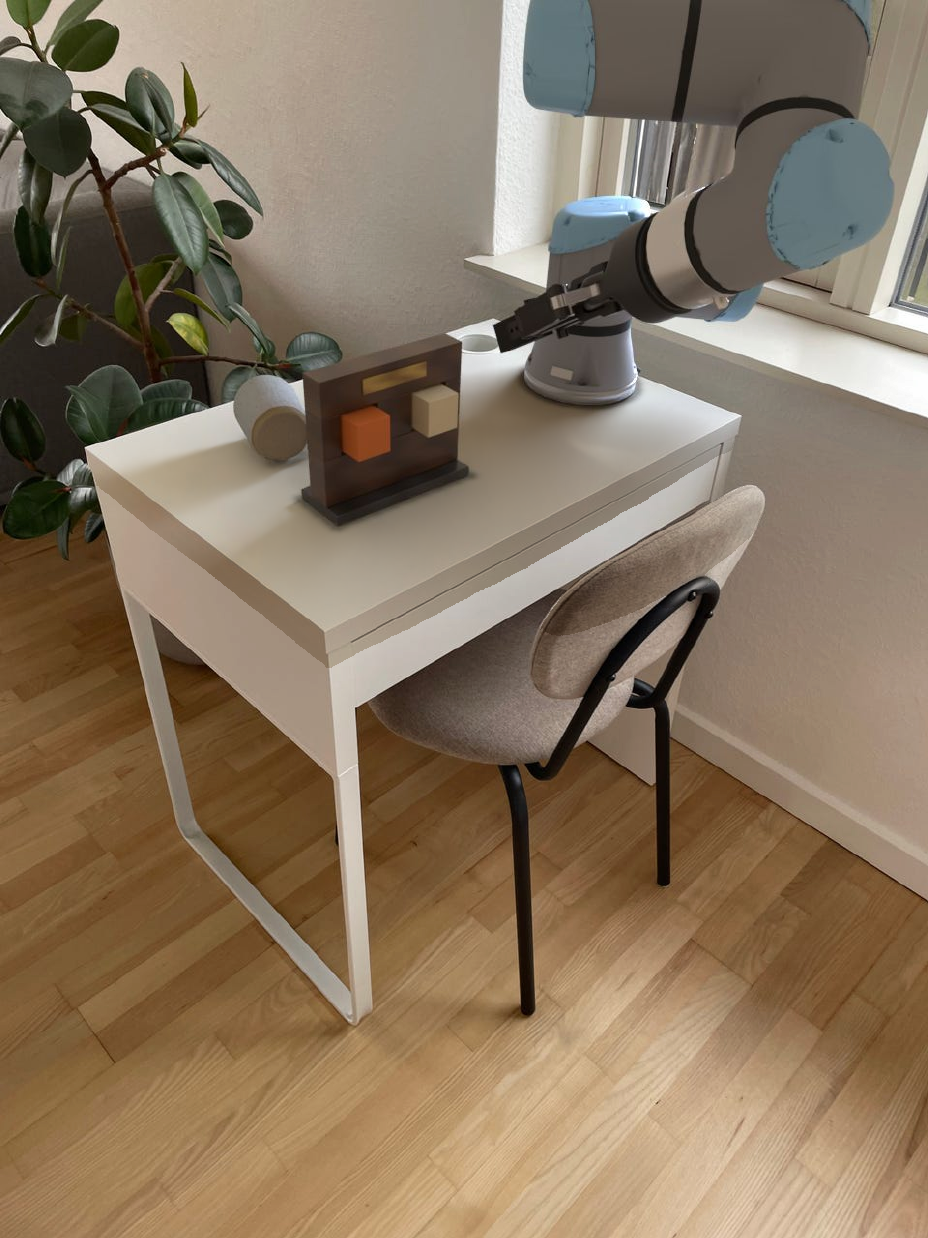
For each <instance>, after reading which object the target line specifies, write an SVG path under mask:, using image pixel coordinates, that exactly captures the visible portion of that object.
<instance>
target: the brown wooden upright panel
mask: <svg viewBox="0 0 928 1238" xmlns="http://www.w3.org/2000/svg"><path fill="white" fill-rule="evenodd" d="M462 359H463V341H462V340H459V339H458V338H456V337H454V336H452V335H450V334H448V333H445V332H442V333H440V334H435V335H433V336H430V337H429V336H428V337H425V338H422V339H418V340H414V341H411V342H407V343H403V344H400V345H396V346H393V347H390V348H386V349H382V350H379V351H375V352H371V353H368V354H364V355H360V356H358V357H353V358H350V359H346V360H343V361H339V362H336V363H331V364H329V365H325V366H322V367H318V368H314V369H311V370H307V371H303V372H302V387H303V388H302V389H303V401H304V410H305V417H306V431H307V445H306V446H307V457H308V471H309V484H310V485H309V486H305V487H303V488H301V489H300V494H301V499H302V500H303V501H305V502H306V503H307V504H308V505H309V506H311V507H312V508H314V509H315V510H316V511H317V512H319V513H320V514H321V515H323V516H324V517H326V519H327V520H330V522H332V523H333V524H335V526H337V527H340V526H342V525H345V524H347V523H350V522H352V521H355V520H358V519H360V518H363V517H365V516H368V515H370V514H374V513H375V512H378V511H380V510H383V509H387V508H388V507H391V506H394V505H395V504H399V503H402V502H403V501H406V500H409V499H412V498H414V497H417V496H420V495H421V494H424V493H427V492H430V491H432V490H434V489H437V488H439V487H442V486H445V485H447V484H450V483H452V482H455V481H457V480H460V479H463V478H465V477H467V476H469V472H470V466H469V465H468V464H466V463H464V462H463V461H461V460H459V459H458V458H459V457H458V456H459V433H460V412H461V411H460V410H461V409H460V408H461V386H462V385H461V384H462ZM438 383H441V384H443V385H444V386H446V387H448V388H450V389H452V390H453V391H455V392H457V393H459V395H458V421H457V428H454V429H452V430H449V431H446V432H443V433H440V434H437V435H435V436H432V437H429V438H428V437H427V436H425V435H423V434H422V433H420V432H419V431H417V430H415V429H414V428H412V427H411V392H413V391H416V390H419V389H422V388H425V387H428V386H432V385H435V384H438ZM371 404H372V405H373V406H375V407H377V408H378V409H380V410H381V411H383V412H385V413H386V414H388V415H390V451H389V452H386V453H383V454H380V455H378V456H375V457H372V458H369V459H366V460H363V461H360V462H358V461H356V460H355V459H353V458H352V457H351V456H349V455H348V454H346V453H345V452H343V451H342V450H341V434H340V415H339V414H343V413H346V412H349V411H352V410H355V409H358V408H362V407H365V406H368V405H371Z"/></svg>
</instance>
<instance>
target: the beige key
mask: <svg viewBox="0 0 928 1238" xmlns="http://www.w3.org/2000/svg"><path fill="white" fill-rule="evenodd" d="M458 395H459V393H457V392H455V391H453V390H452V389H450V388H448V387H446V386H444V385H443V384H441V383H438V384H435V385H432V386H428V387H425V388H422V389H419V390H416V391H413V392H411V427H412V428H414V429H415V430H417V431H419V432H420V433H422V434H423V435H425V436H427V437H428V438H429V437H432V436H435V435H437V434H440V433H443V432H446V431H449V430H452V429H454V428H457V421H458Z"/></svg>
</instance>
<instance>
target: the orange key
mask: <svg viewBox="0 0 928 1238" xmlns="http://www.w3.org/2000/svg"><path fill="white" fill-rule="evenodd" d="M339 415H340V434H341V450H342V451H343V452H345V453H346V454H348V455H349V456H351V457H352V458H353V459H355V460H356V461H358V462H360V461H363V460H366V459H369V458H372V457H375V456H378V455H380V454H383V453H386V452H389V451H390V415H388V414H386V413H385V412H383V411H381V410H380V409H378V408H377V407H375V406H373V405H372V404H371V405H368V406H365V407H362V408H358V409H355V410H352V411H349V412H346V413H343V414H339Z"/></svg>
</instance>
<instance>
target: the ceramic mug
mask: <svg viewBox="0 0 928 1238" xmlns="http://www.w3.org/2000/svg"><path fill="white" fill-rule="evenodd" d="M232 408H233V415H234V418H235V420H236V422H237V423H238V425H239V427H240V429H241V431H242V432H243V434H244V435H245V437H246V439H247V441H248V443H249V445H250V446H251V447H252V449H253V450H254V451H255V452H256V453H257V454H258V455H260V456H261V457H263V458H265V459H267V460H270V461H275V462H276V461H277V462H279V461H286V460H289V459H292V458H295V457H297V456H298V455H299V454H301V452H303V450H304V449H305V448H306V446H308V445H307V431H306V417H305V408H304V407H303V406H302V403H301V401H300V399H299V397H298V395H297V393H296V391H295V390H294V388H293V387H292V385H291V384H289V383H288V382H287V381H286V380H285V379H284V378H281V377H279V376H276V375H272V374H261V375H257V376H254V377H252V378H249V379H248V380H246V381H244V382H243V384H241V386H239V388H238V389H237V391H236V393H235V396H234V398H233V402H232Z"/></svg>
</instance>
